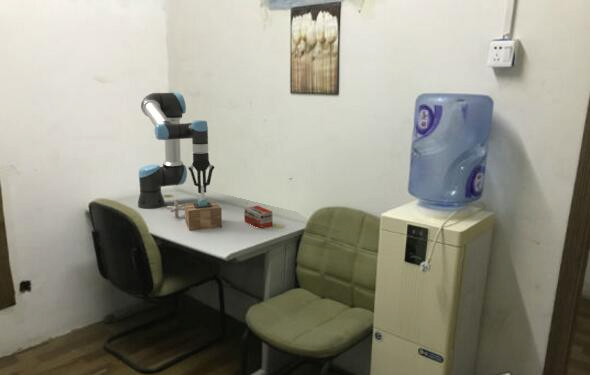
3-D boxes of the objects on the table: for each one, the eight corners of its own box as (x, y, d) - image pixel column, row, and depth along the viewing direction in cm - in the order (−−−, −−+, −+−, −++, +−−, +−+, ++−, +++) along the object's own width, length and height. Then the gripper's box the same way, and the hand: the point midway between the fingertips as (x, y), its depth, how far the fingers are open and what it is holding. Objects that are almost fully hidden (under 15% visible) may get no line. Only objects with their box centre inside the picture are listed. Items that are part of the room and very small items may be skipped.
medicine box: (244, 222, 236) (243, 207, 234) (257, 219, 240) (257, 205, 239) (259, 229, 224) (259, 214, 222) (273, 226, 229) (273, 211, 227)
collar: (193, 204, 230) (193, 203, 230) (209, 203, 233) (209, 201, 233) (195, 208, 223) (195, 207, 222) (212, 207, 225) (212, 205, 225)
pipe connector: (181, 220, 237) (180, 202, 235) (163, 219, 239) (162, 200, 236) (189, 215, 246) (188, 197, 244) (172, 214, 248) (171, 196, 246)
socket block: (185, 222, 234) (184, 203, 231) (216, 219, 239) (215, 201, 237) (189, 230, 221) (188, 210, 219) (221, 227, 226) (221, 208, 224)
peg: (198, 214, 230) (197, 198, 228) (206, 213, 231) (205, 198, 230) (199, 216, 226) (199, 200, 224) (207, 215, 228) (207, 200, 226)
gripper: (188, 154, 216) (190, 202, 221) (215, 152, 221) (216, 199, 226) (186, 151, 223) (188, 198, 228) (212, 150, 227) (214, 196, 233)
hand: (202, 199), depth 227 cm, fingers closed
